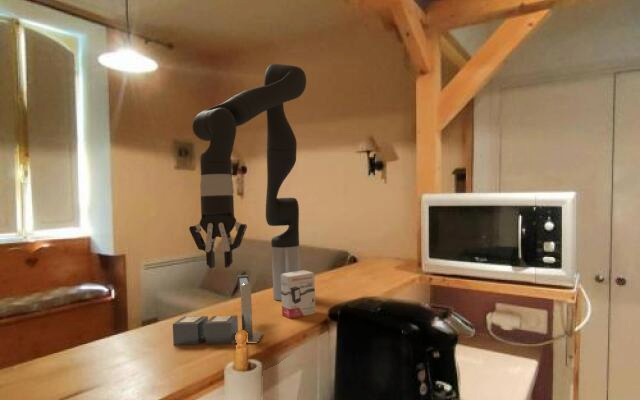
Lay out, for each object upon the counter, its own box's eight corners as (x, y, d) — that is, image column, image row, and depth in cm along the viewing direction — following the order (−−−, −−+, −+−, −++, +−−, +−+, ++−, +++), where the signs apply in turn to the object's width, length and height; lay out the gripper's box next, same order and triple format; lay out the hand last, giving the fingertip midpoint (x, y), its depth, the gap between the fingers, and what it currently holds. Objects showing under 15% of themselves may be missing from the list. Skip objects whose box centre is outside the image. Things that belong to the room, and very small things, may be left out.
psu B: (184, 336, 100) (184, 315, 100) (208, 336, 99) (207, 315, 99) (173, 345, 94) (172, 323, 94) (198, 345, 93) (197, 323, 93)
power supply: (214, 336, 99) (213, 315, 99) (238, 335, 99) (237, 314, 99) (205, 345, 93) (204, 322, 93) (231, 344, 93) (230, 321, 93)
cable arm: (251, 298, 98) (251, 285, 98) (239, 300, 97) (239, 286, 97) (248, 286, 113) (247, 274, 113) (238, 287, 112) (237, 275, 112)
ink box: (290, 319, 111) (288, 276, 111) (281, 315, 115) (279, 273, 115) (316, 313, 115) (314, 271, 115) (307, 309, 119) (305, 269, 119)
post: (238, 335, 99) (236, 281, 99) (262, 334, 98) (260, 281, 98) (231, 344, 93) (229, 287, 93) (257, 343, 92) (255, 286, 92)
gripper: (181, 195, 93) (184, 271, 93) (242, 192, 92) (245, 269, 92) (193, 195, 100) (196, 265, 100) (250, 193, 99) (252, 263, 99)
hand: (219, 266), depth 96 cm, fingers open, 3 cm apart
